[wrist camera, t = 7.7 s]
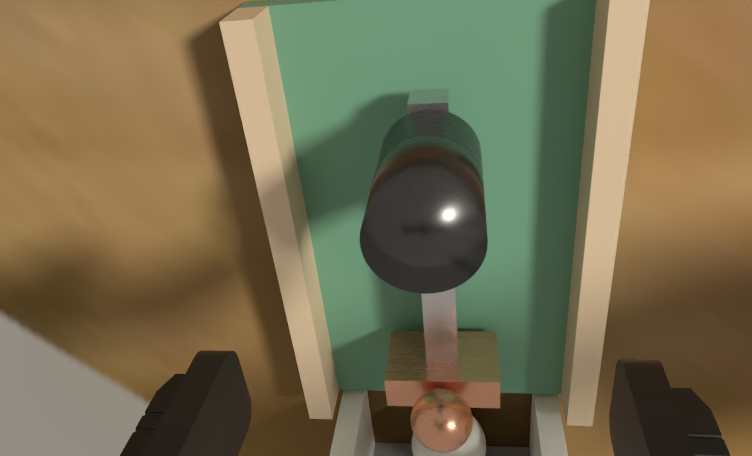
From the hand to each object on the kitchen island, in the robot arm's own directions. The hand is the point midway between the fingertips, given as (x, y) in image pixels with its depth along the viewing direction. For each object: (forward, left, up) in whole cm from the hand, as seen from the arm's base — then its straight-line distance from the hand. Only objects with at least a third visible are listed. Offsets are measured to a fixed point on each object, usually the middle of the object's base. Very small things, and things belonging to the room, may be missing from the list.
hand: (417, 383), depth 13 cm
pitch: (0, +5, -14) cm, 15 cm away
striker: (0, +5, -13) cm, 14 cm away
